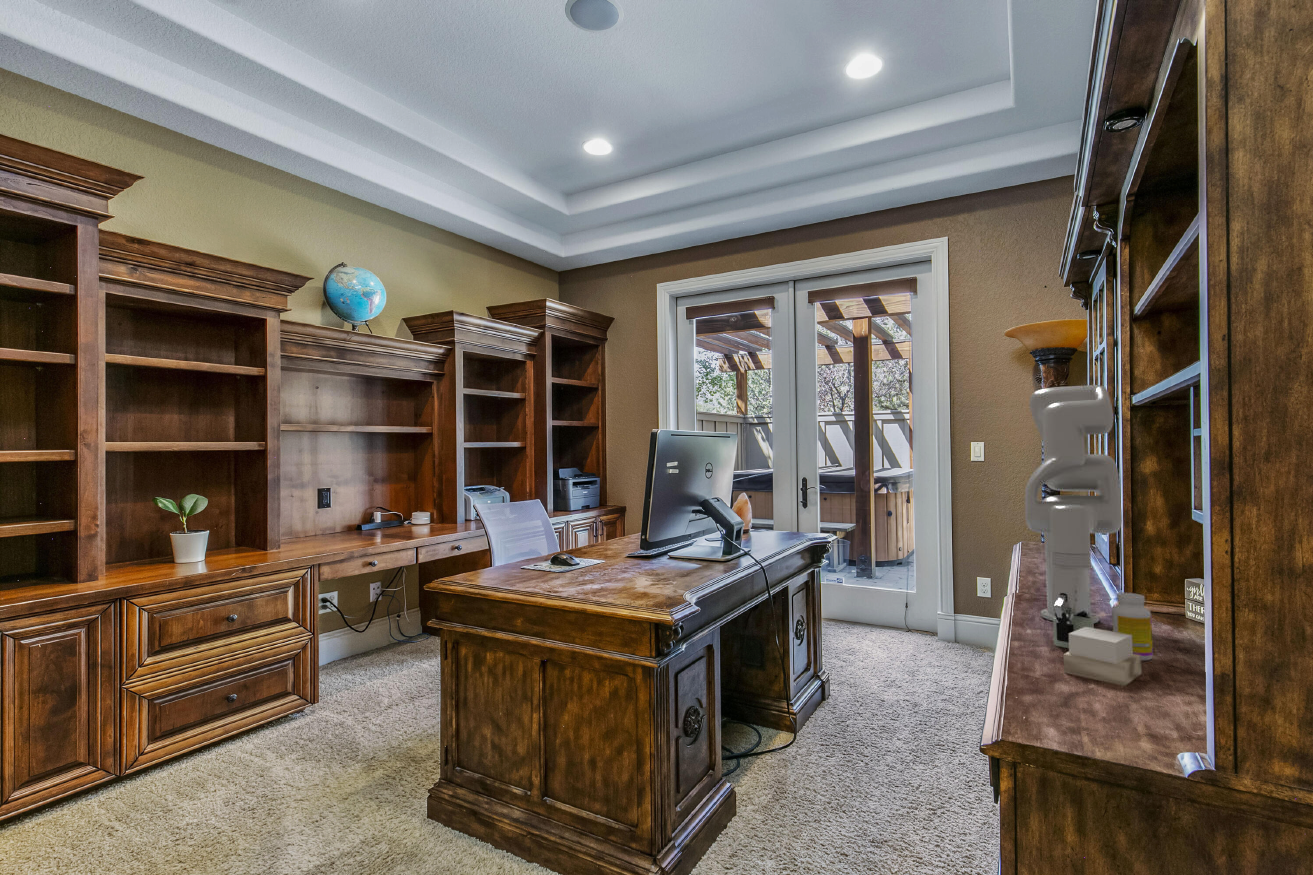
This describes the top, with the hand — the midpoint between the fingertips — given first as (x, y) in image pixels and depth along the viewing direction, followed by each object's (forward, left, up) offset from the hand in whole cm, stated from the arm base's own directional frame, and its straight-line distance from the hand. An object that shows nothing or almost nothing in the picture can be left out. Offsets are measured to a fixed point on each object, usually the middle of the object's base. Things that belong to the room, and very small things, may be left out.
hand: (1073, 637), depth 144 cm
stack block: (0, 0, -2) cm, 2 cm away
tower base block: (+16, +10, -2) cm, 19 cm away
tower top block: (+16, +10, +2) cm, 19 cm away
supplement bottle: (0, +11, -2) cm, 11 cm away
